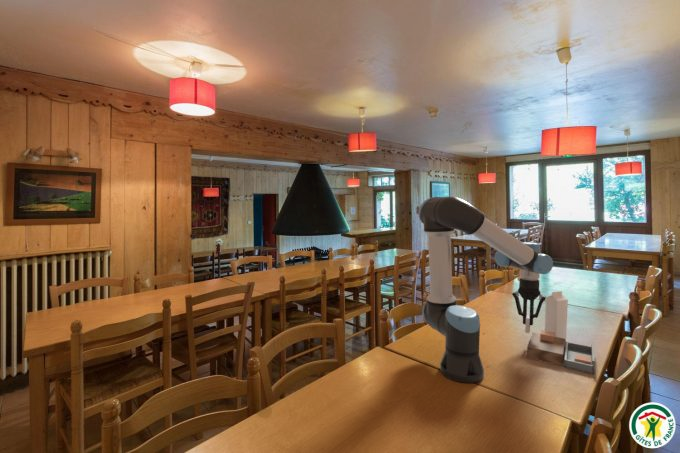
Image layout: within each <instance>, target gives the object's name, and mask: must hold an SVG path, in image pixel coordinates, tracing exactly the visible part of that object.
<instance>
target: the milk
mask: <svg viewBox="0 0 680 453" xmlns="http://www.w3.org/2000/svg"><path fill="white" fill-rule="evenodd" d="M568 300H569V299H568V298H567V297H565V295H563V291H562V290H561V291H559V290H558V291H552V292H551V295H549V296H546V299H545V309H544V310H545V312H544V313H545V315H544V331H549V332H554V333H555V337H559V338H564V339H565V342H567V325H568V306H569V305H568V304H569V302H568Z"/></svg>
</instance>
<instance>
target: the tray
mask: <svg viewBox="0 0 680 453" xmlns="http://www.w3.org/2000/svg"><path fill="white" fill-rule="evenodd" d="M575 354H579V355H584V356H588V357H591V365H589V364H584V363H580V362H575ZM595 361H596V360H595V348H594V342H593V341H591V345H586V344H580V343H576V342H575V343H574V342H569V341H565V351H564V359H563V367H564V368H565V369H570V370H574V371H577V372H583V373H585V374H586V373H587V374H590V373H592V374H591V375H595Z"/></svg>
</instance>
